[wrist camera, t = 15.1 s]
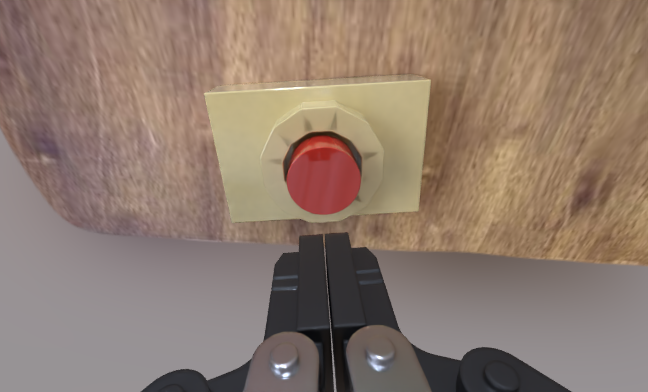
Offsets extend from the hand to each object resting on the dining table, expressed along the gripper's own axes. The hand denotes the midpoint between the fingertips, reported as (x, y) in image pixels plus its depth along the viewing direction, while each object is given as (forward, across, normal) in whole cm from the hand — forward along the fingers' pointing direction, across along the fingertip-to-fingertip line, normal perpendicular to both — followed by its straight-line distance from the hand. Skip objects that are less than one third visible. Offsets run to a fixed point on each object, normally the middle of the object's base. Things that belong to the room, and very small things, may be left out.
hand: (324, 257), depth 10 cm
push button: (+8, 0, 0) cm, 8 cm away
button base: (+12, 0, 0) cm, 12 cm away
